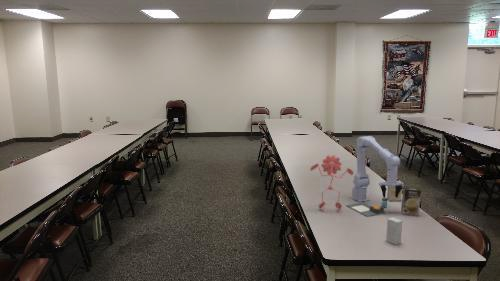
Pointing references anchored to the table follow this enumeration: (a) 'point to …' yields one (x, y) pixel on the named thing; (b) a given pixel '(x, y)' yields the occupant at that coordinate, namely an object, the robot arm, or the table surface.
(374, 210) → the slate board
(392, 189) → the supplement box
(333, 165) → the figurine
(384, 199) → the teal bottle
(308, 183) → the table surface
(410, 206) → the coffee box
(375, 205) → the button
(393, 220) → the skincare box
